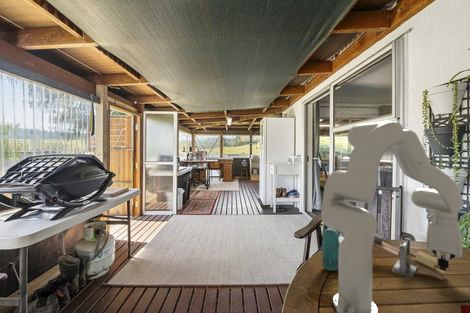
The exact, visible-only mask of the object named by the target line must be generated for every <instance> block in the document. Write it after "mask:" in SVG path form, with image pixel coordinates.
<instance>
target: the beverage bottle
mask: <svg viewBox="0 0 470 313" xmlns="http://www.w3.org/2000/svg"><path fill="white" fill-rule="evenodd" d="M324 226H325V229H324V230H323V231H322V259H321V260H322V261H321V265H322V268H324V269H326V270H328V271H337V270H339V237H340V232H338V231H335V230H333V229H331V228H329V227H327V226H326V225H324Z"/></svg>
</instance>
